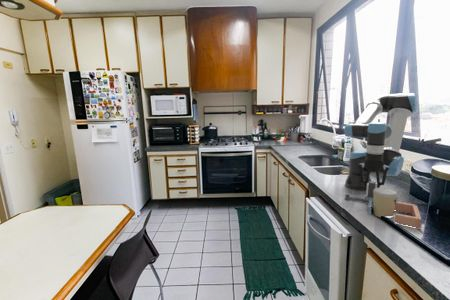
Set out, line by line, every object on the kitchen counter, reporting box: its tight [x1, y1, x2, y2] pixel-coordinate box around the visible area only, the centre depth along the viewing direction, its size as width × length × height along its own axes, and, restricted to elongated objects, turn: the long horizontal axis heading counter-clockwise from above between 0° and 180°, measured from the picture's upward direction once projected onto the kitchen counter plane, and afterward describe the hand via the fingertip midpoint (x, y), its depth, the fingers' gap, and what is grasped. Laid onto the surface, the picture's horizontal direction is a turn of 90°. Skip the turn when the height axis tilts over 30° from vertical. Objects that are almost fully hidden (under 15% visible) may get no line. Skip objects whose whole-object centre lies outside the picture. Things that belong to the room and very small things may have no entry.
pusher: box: [363, 181, 377, 216], centre depth 113 cm, size 18×6×11 cm, turn 146°
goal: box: [394, 201, 422, 229], centre depth 102 cm, size 16×9×4 cm, turn 146°
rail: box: [344, 192, 406, 205], centre depth 119 cm, size 2×26×3 cm, turn 56°
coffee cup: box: [372, 187, 399, 218], centre depth 106 cm, size 9×9×12 cm
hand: (371, 195), depth 120 cm, fingers closed on pusher, 3 cm apart
